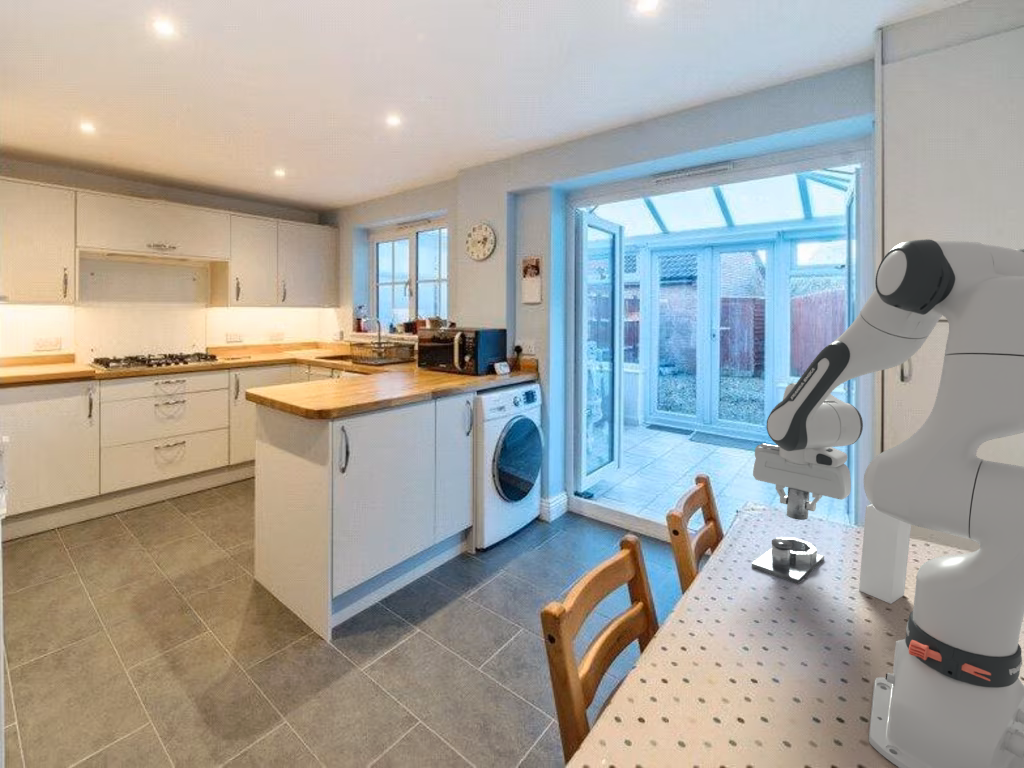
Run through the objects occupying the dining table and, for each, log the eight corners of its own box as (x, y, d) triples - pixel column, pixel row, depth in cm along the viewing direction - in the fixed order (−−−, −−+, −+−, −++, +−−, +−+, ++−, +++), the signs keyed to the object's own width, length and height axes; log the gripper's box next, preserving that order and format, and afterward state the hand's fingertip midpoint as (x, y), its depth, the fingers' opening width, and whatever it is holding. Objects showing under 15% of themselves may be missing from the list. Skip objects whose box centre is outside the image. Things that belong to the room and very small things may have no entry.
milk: (858, 591, 106) (865, 491, 103) (872, 582, 109) (879, 485, 106) (891, 604, 101) (900, 500, 98) (905, 595, 104) (914, 494, 101)
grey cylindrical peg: (803, 521, 115) (805, 492, 114) (783, 515, 119) (785, 487, 118) (810, 516, 118) (812, 487, 117) (791, 510, 122) (792, 483, 121)
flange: (797, 583, 109) (799, 555, 108) (751, 566, 117) (753, 540, 116) (823, 559, 119) (825, 533, 118) (779, 545, 127) (781, 520, 126)
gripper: (749, 444, 122) (747, 498, 124) (846, 461, 106) (841, 523, 108) (761, 439, 126) (758, 492, 128) (855, 455, 110) (851, 515, 112)
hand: (797, 506), depth 118 cm, fingers closed on grey cylindrical peg, 4 cm apart
